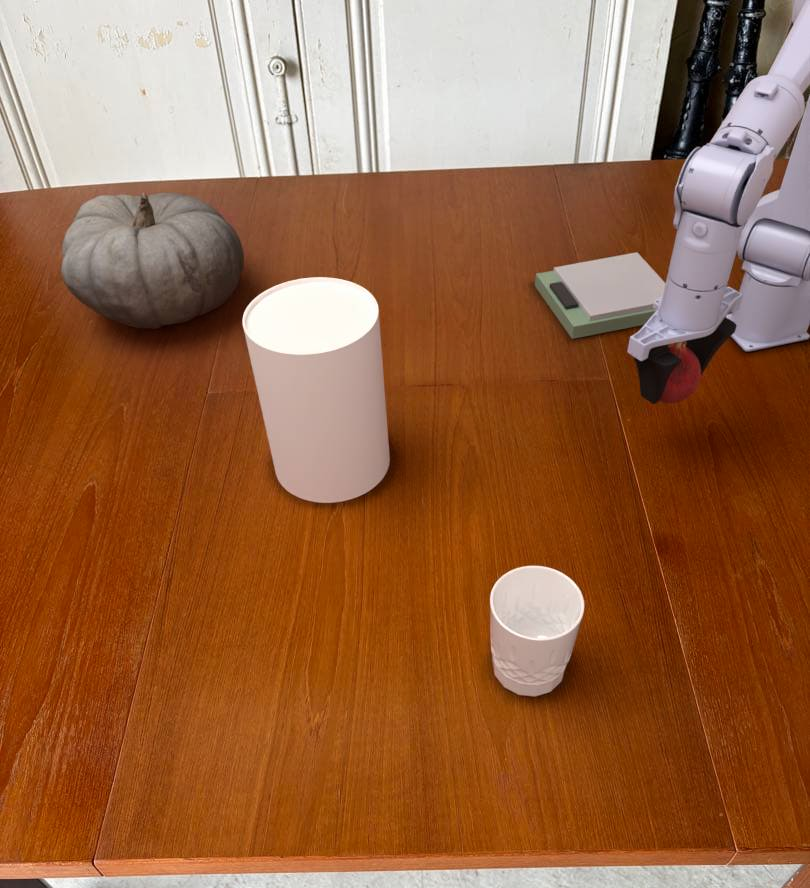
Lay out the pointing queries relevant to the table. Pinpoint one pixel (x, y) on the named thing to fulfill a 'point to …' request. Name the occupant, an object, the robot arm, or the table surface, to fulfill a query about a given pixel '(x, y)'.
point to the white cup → (533, 628)
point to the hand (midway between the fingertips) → (669, 387)
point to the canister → (320, 386)
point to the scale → (601, 294)
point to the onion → (682, 375)
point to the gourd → (151, 258)
